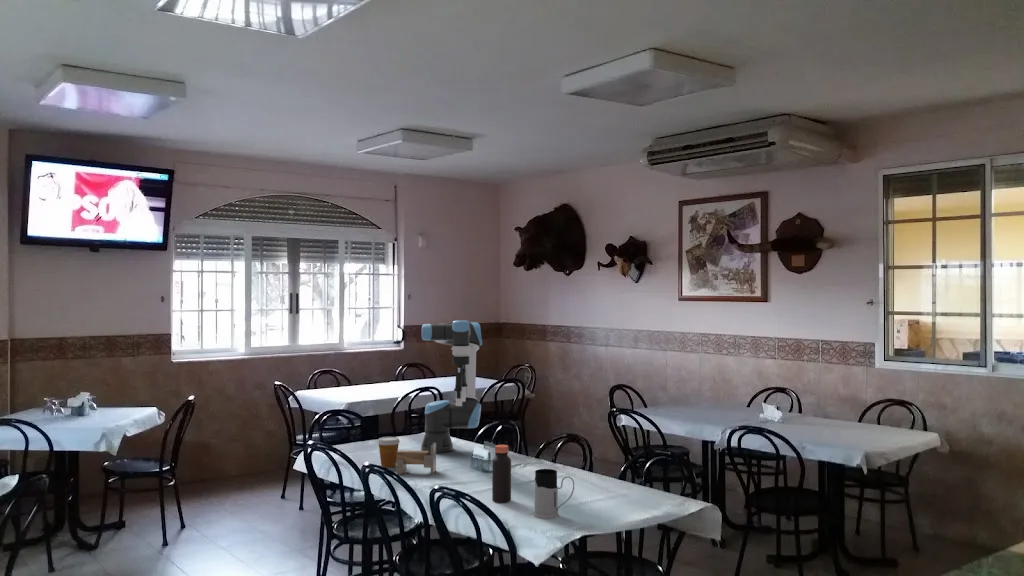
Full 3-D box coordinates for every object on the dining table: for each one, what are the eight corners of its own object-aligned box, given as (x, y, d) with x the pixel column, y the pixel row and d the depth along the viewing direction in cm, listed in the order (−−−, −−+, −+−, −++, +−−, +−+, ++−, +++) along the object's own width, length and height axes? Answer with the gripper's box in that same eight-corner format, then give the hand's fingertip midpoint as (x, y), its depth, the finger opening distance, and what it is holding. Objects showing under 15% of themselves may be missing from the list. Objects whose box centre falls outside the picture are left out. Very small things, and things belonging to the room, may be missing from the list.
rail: (398, 462, 330) (398, 450, 330) (428, 462, 330) (428, 450, 330) (396, 464, 327) (396, 452, 327) (427, 464, 326) (427, 452, 326)
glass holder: (536, 510, 273) (537, 467, 273) (576, 514, 268) (576, 470, 268) (530, 517, 264) (530, 473, 264) (571, 521, 260) (571, 476, 260)
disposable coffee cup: (373, 467, 338) (373, 439, 338) (385, 462, 347) (385, 435, 347) (392, 469, 335) (392, 441, 335) (403, 464, 344) (403, 437, 344)
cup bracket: (426, 470, 332) (426, 442, 332) (435, 470, 332) (436, 442, 332) (423, 475, 324) (423, 446, 324) (433, 475, 324) (433, 446, 324)
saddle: (399, 470, 332) (399, 455, 332) (406, 470, 332) (406, 455, 332) (396, 474, 325) (396, 459, 325) (403, 474, 325) (403, 459, 325)
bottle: (492, 498, 289) (492, 444, 289) (511, 498, 289) (511, 444, 289) (491, 503, 282) (491, 447, 282) (510, 503, 282) (510, 447, 282)
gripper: (455, 353, 357) (455, 399, 357) (448, 357, 332) (448, 407, 332) (472, 353, 357) (472, 399, 357) (466, 358, 332) (466, 408, 332)
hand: (460, 403), depth 344 cm, fingers open, 13 cm apart
